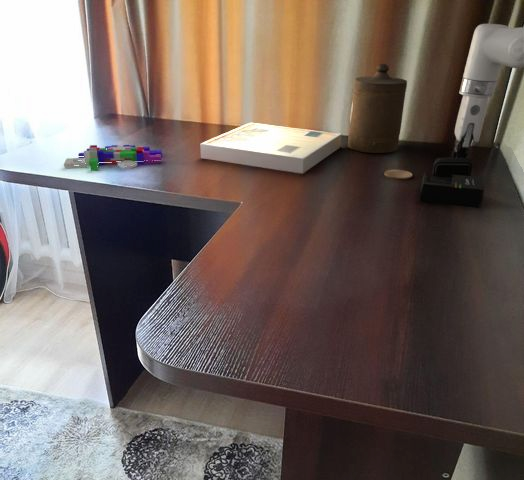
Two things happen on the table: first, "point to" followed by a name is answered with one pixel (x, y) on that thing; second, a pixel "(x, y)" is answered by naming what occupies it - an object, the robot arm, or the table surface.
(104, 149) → the building block set
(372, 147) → the wooden container
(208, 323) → the table surface
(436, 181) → the webcam
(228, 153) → the flat white box
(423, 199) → the battery charger
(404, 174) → the coaster
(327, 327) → the table surface
